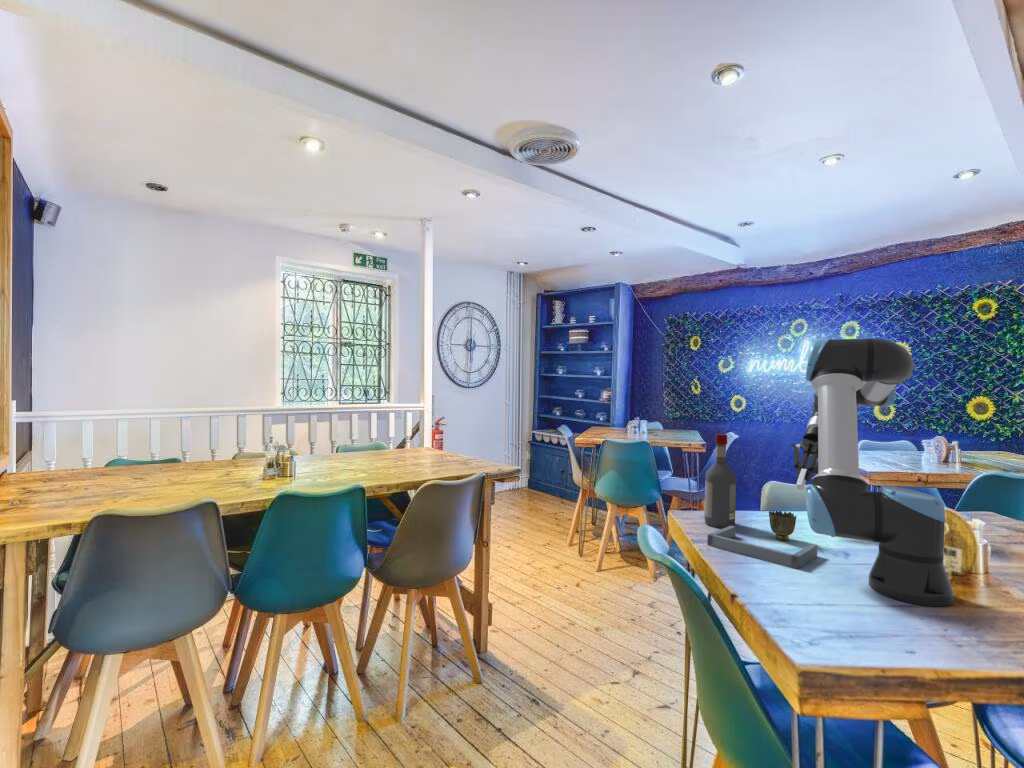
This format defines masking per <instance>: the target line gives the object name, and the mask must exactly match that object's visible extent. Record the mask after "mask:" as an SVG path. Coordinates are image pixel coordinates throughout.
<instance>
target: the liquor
mask: <svg viewBox="0 0 1024 768" xmlns="http://www.w3.org/2000/svg"><path fill="white" fill-rule="evenodd" d="M714 439H715V440H714V443H715V460H714V463H712V465H711V466H710V467H709V468H708V469H707V470H706V472H705V477H704V480H705V481H704V482H705V483H704V516H703V518H704V522H705V524H706V526H709V527H712V528H721V529H723V528H726V527H728V526H735V527H736V501H737V500H736V496H737V495H736V490H737V489H736V487H737V485H736V484H737V479H736V475H735V473H734V471H732V469H731V468H730V466H729V464H727V445H728V434H727V433H726V434H724V433H715V438H714Z"/></svg>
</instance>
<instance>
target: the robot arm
mask: <svg viewBox="0 0 1024 768" xmlns="http://www.w3.org/2000/svg"><path fill="white" fill-rule="evenodd" d="M809 347H810V348H809V351H808V357H807V364H806V365H807V366H806V371H805V380H806V381H807V382H811V387H812V389H813V393H814V394H813V408H812V412H811V414H810V418H809V420H808V421H807V425H806V429H805V431H804V434H803V437H802V440H800V442H799V443H797V444H796V443H791V449H792V450H793V451H792V456H793V457H792V465H793V469H794V470H795V471H796V475H795V477H796V479H797V482H796V483H795V485H796V488H797V489H798V490H800V491H803V490H804V495H805V496H804V497H805V507H806V513H807V520H808V523H809V527H810V529H811V530H812V532H814V533H816V534H819V535H823V536H824V535H825V536H829V537H831V538H835V537H837V538H845V539H850V540H851V539H852V540H857V541H858V540H860V541H866V542H871V543H872V542H873V543H878V554H877V556H876V557H875V560H874V562H873V565H872V566H871V570H870V572H869V574H868V586H869V587H870V588H871V589H873V590H874V591H876V592H878V593H879V594H881V595H884V596H887V597H889V598H892V599H895V600H898V601H901V602H905V603H910V604H915V605H920V606H927V607H947V606H950V605H952V604H953V602H954V590H953V587H952V586H951V585H952V584H951V582H950V580H949V577H948V574H947V570H946V568H945V566H944V565H945V564H944V555H945V554H944V551H945V525H946V524H945V523H946V522H947V521H946V520H947V519H946V513H945V512H946V511H945V505H944V503H943V501H942V500H941V499H939V498H938V497H936V496H934V495H931V494H928V493H925V492H922V491H918V490H914V489H909V488H905V487H899V486H894V485H882V486H880V488H879V489H878V491H872V490H868V483H867V481H866V480H865V479H864V478H862V477H861V476H860V464H859V438H858V436H859V434H858V411H857V410H858V409H857V406H869V407H870V406H871V407H874V406H876V407H887V406H888V407H890V406H893V405H894V404H895V400H896V386H897V385H899V384H902V383H903V382H905V381H906V380H907V379H908V378H910V376H911V374H912V373H913V370H914V363H915V362H914V359H913V357H912V355H911V353H910V352H909V351H908V350H907V349H906V348H904V347H903V345H900V344H899V343H897V342H894V341H892V340H889V339H885V338H878V337H877V338H876V337H873V338H872V337H871V338H838V339H837V338H836V339H835V338H834V339H833V338H825V339H816V340H814V341H813V342H812V343H811V344H810V346H809ZM800 449H802V451H803V452H802V454H801V455H802V456H801V458H800V453H799V452H800ZM813 474H816V475H814V476H813V477H812V475H813ZM811 477H812V478H811ZM810 480H811V483H809V484H806V483H807V482H810Z"/></svg>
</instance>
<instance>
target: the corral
mask: <svg viewBox="0 0 1024 768" xmlns="http://www.w3.org/2000/svg"><path fill="white" fill-rule="evenodd" d="M736 533H737V532H736V525H735V526H728V527H726V528H721V529H718V530H716V531H713V532H711V533H708V534H707V542H706V543H707V544H706V545H707V546H710V547H714V548H718V549H721V550H725V551H727V552H728V551H729V552H733V553H736V554H739V555H744V556H748V557H751V558H755V559H757V560H759V559H760V560H763V561H765V562H766V561H767V562H770V563H774V564H778V565H781V566H785V567H789V568H793V569H797V570H798V569H799V568H800V569H801V568H802V567H803V566H805V565H806V564H807V563H808V562H811V561H812V560H814V559H815V558H817V556H818V544H814V543H810V544H809V545H807V546H806V547H803V548H802V549H800V550H798V551H797V552H795V553H794V554H793V553H791V552H790V553H789V552H786V551H782V550H778V549H773V548H770V547H765V546H762V545H757V544H753V543H749V542H746V541H741V540H736V539H733V538H734V537H736Z"/></svg>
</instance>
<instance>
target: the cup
mask: <svg viewBox="0 0 1024 768" xmlns="http://www.w3.org/2000/svg"><path fill="white" fill-rule="evenodd" d="M768 517H769V526H770V529H771V531H772V532H773V533H774V535H775V536H774V537H775V539H776V540H779V541H784V542H785V541H788V540H789V539H790V537H789V536H791V535H792V534H793V533H794V531H795V527H796V522H797V517H798V516H797V514H796V515H794V513H792V512H791V511H789V512H786V510H785V511H784V512H782V511H781V510H776V511H775V510H772V511H771V510H769V511H768Z"/></svg>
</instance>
